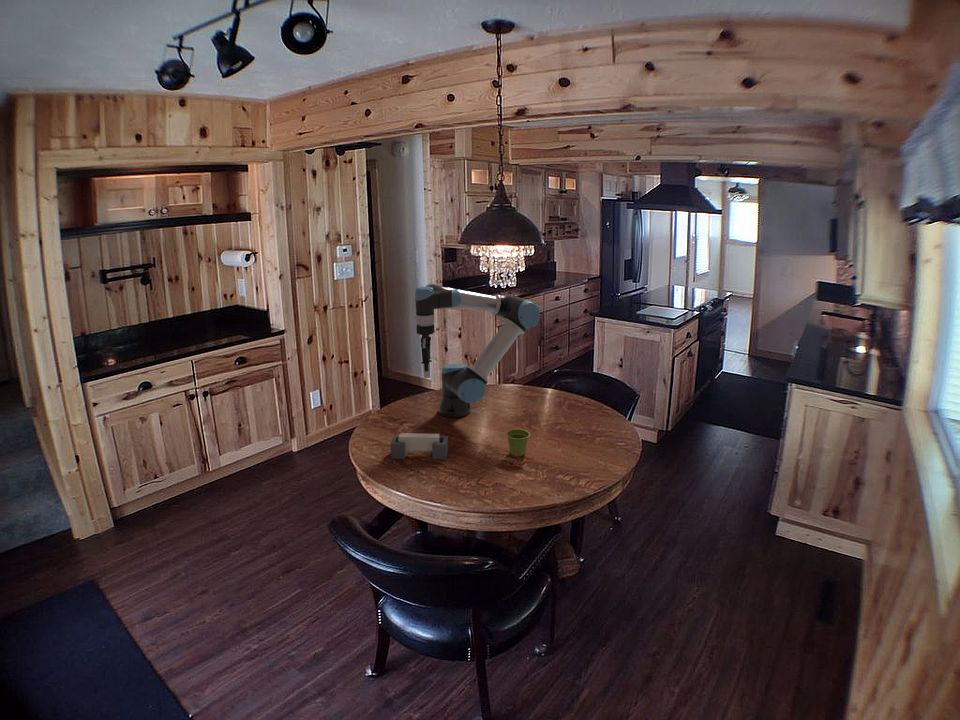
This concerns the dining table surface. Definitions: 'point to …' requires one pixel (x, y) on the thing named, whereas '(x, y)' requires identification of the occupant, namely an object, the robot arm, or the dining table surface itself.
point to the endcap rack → (437, 448)
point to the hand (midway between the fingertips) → (427, 377)
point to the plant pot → (517, 441)
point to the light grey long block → (418, 441)
